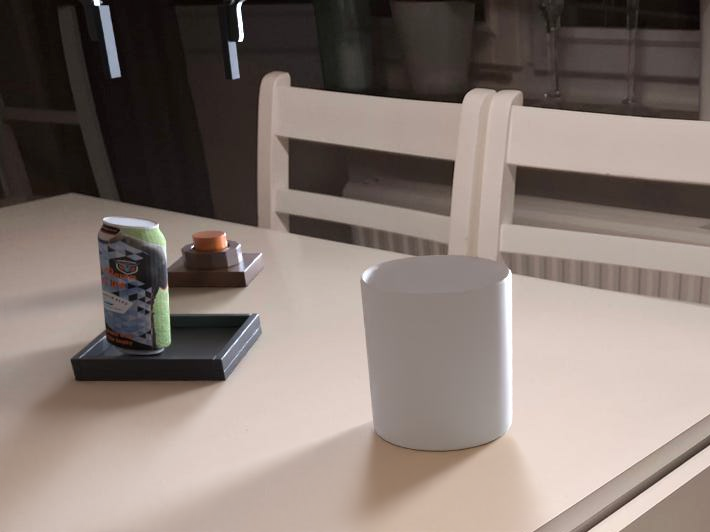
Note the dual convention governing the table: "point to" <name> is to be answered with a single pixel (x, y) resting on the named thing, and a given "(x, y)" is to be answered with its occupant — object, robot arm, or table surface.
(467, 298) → the white cylinder
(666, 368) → the table surface
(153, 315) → the beverage can
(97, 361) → the tray
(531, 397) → the table surface
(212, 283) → the block
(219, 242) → the button
